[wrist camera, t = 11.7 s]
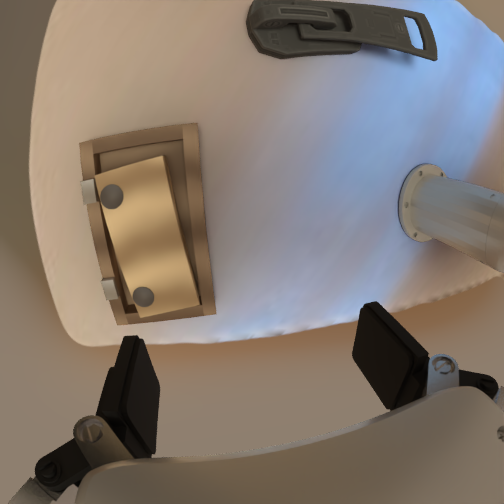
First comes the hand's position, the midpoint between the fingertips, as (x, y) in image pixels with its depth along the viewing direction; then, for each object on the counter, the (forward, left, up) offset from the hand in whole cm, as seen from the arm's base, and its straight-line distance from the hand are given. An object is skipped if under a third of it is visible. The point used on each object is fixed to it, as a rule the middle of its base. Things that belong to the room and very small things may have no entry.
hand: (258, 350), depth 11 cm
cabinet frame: (+7, 0, -23) cm, 24 cm away
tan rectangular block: (+7, +1, -22) cm, 23 cm away
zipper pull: (-18, -24, -23) cm, 38 cm away
